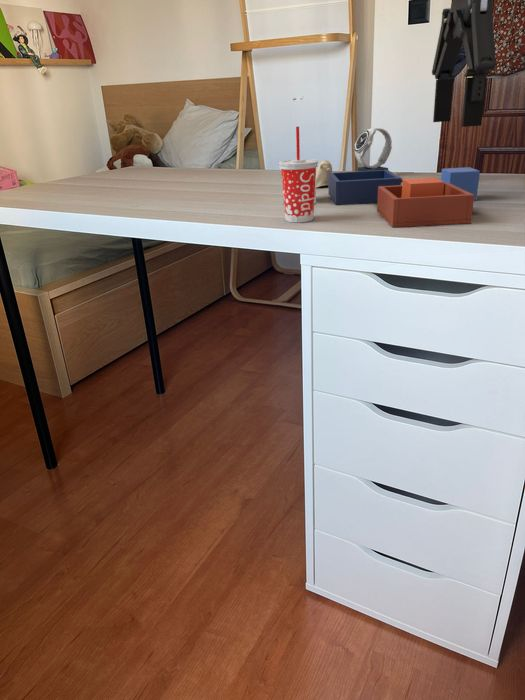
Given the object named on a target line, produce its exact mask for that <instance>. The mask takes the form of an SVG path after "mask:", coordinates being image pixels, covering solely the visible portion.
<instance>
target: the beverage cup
mask: <svg viewBox="0 0 525 700" xmlns="http://www.w3.org/2000/svg"><path fill="white" fill-rule="evenodd" d="M295 140H296V142H295V143H296V144H295V145H296V147H295V148H296V158H295V159H287V160H281V161H279V162H278V166H279V167H278V168H279V169H280V172H281V184H282V195H283V205H284V218H285V221H286V222H288V223H306V222H307V223H308V222H311V221H313V220H314V219H315V218H314V217H315V216H314V214H315V203H314V198H315V178H316V170H317V167H318V165H319V161H318V159H314V158H301V156H300V155H301V154H300V153H301V152H300V151H301V150H300V147H301V146H300V126H295Z"/></svg>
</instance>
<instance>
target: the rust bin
mask: <svg viewBox="0 0 525 700" xmlns="http://www.w3.org/2000/svg"><path fill="white" fill-rule="evenodd" d="M401 197H402V184H401V185H396V186H379V187H378V201H377V203H376V204H377V205H376V212H377V213H378V214H379V215H380V217H382V218H383V219H384V220H385V221H386V222H387V224H388V225H389V226H390V227H391V228H406V227H425V226H443V225H444V226H445V225H465V224H471V223H472V218H473V210H474V202H475V201H474V195H473V194H471V193H469V192H467V191H465V190H463V189H461V188H459V187H457V186H455V185H453V184H450V183H444V189H443V196H425V197H407V198H401Z"/></svg>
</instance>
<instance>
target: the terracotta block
mask: <svg viewBox="0 0 525 700" xmlns="http://www.w3.org/2000/svg"><path fill="white" fill-rule="evenodd" d="M401 185H402V197H401V198H407V197H425V196H443V189H444V182H443V181H441V179H439V178H437V177H435V176H432V177H431V176H430V177H413V178H411V177H410V178H402V180H401Z"/></svg>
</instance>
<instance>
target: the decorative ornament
mask: <svg viewBox="0 0 525 700" xmlns="http://www.w3.org/2000/svg"><path fill="white" fill-rule="evenodd" d="M332 165H333V164H331V162H330V161H329V160H326V159H323V160H320V162H319V163H318V164H317V167H316V189H317V188H320V187H325V186H327V187H328V177H329V173H333V166H332Z"/></svg>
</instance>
